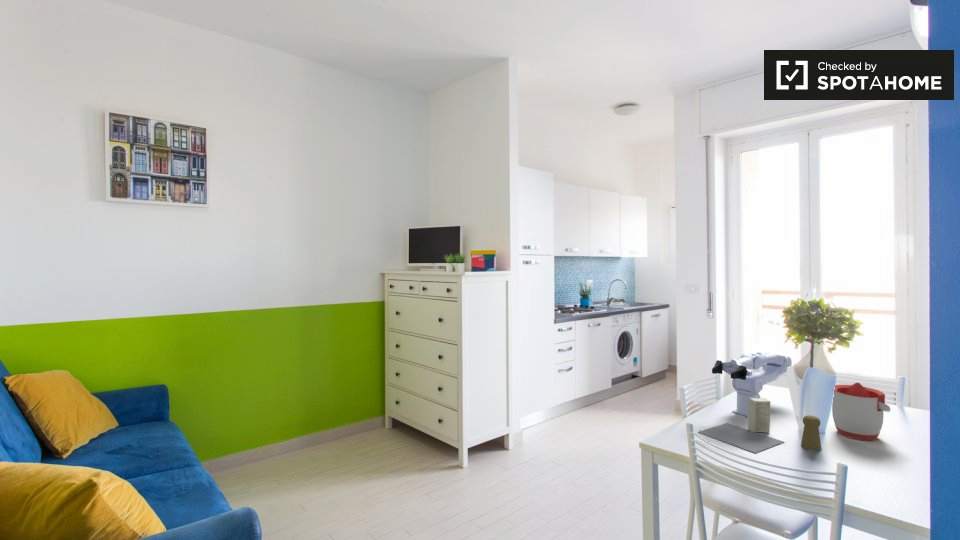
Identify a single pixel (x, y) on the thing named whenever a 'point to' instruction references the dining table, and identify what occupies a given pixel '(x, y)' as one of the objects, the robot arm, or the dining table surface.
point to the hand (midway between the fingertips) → (722, 373)
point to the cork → (811, 433)
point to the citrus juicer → (858, 411)
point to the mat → (741, 437)
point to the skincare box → (759, 415)
